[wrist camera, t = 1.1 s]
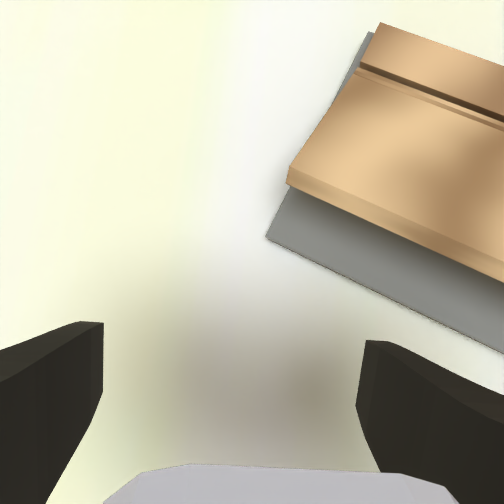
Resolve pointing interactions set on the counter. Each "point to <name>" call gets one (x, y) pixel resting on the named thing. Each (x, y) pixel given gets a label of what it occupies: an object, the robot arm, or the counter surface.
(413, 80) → the strip
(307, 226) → the underlay
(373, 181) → the plank
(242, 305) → the counter surface
